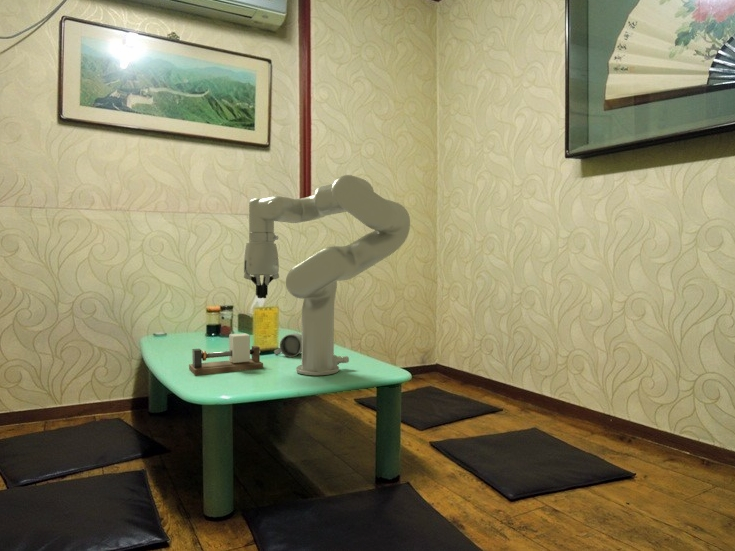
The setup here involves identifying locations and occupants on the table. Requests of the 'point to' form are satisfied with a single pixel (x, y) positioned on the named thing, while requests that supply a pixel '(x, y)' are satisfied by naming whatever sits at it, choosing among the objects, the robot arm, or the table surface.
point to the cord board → (229, 365)
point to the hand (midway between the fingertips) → (261, 297)
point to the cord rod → (208, 356)
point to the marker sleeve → (239, 347)
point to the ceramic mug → (290, 345)
